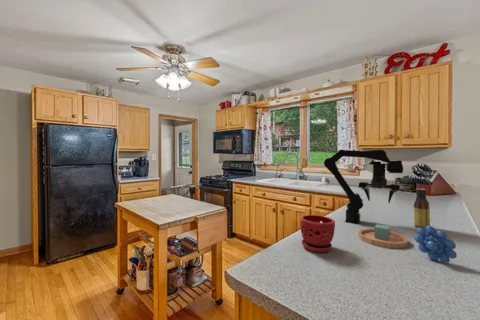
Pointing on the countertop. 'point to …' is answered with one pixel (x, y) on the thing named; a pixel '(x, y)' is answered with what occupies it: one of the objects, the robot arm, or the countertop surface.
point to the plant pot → (317, 232)
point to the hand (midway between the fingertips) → (378, 201)
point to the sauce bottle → (421, 210)
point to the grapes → (435, 244)
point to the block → (382, 232)
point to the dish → (393, 242)
